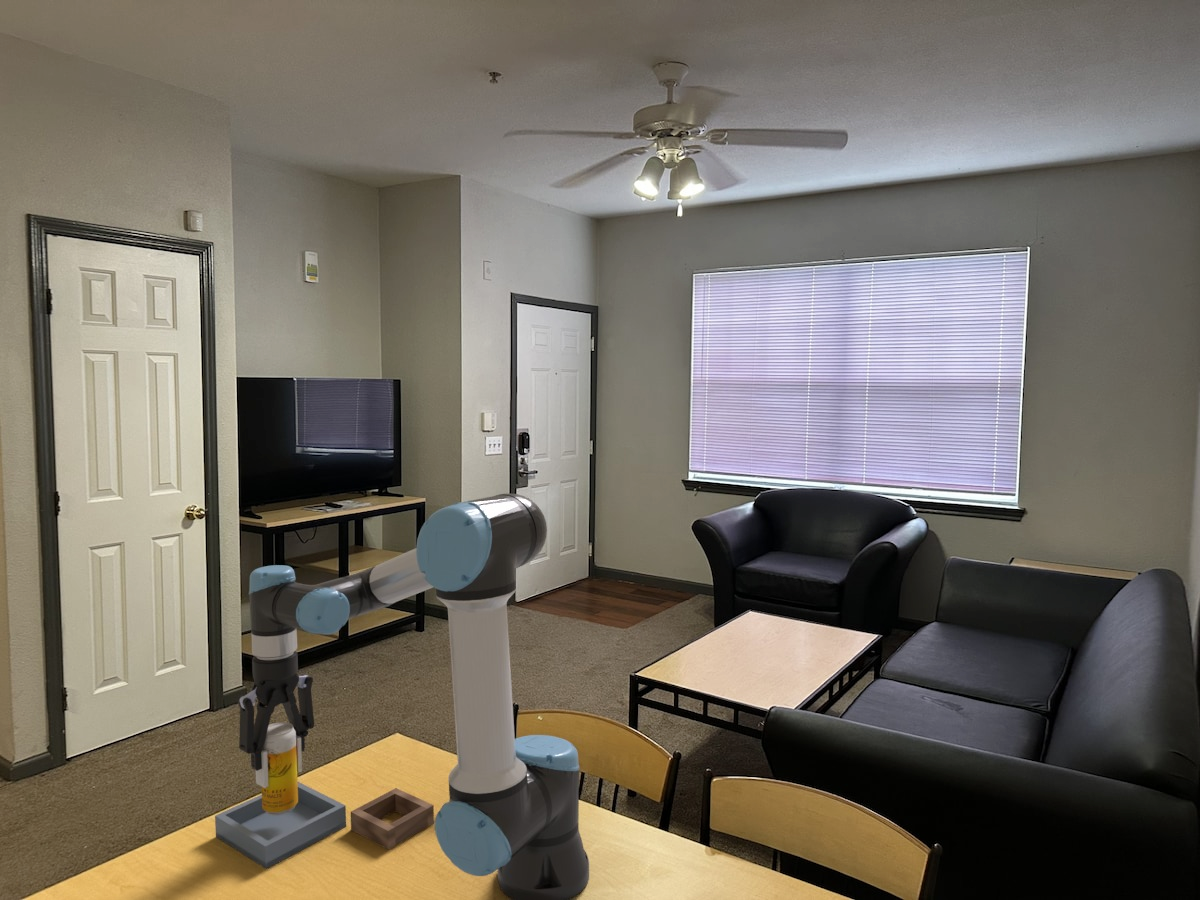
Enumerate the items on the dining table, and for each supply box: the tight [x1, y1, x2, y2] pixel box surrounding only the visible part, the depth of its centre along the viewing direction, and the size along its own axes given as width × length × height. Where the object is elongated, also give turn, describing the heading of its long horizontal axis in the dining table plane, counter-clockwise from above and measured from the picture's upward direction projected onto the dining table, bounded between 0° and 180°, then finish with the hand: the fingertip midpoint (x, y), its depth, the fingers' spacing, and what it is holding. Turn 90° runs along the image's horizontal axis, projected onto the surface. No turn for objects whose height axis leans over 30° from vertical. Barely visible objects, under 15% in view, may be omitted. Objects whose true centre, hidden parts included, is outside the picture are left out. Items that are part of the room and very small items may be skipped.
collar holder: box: [350, 787, 435, 851], centre depth 150 cm, size 10×10×4 cm
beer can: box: [260, 721, 299, 815], centre depth 147 cm, size 6×6×15 cm
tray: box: [214, 780, 347, 870], centre depth 148 cm, size 16×16×4 cm
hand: (279, 776), depth 147 cm, fingers closed on beer can, 6 cm apart
